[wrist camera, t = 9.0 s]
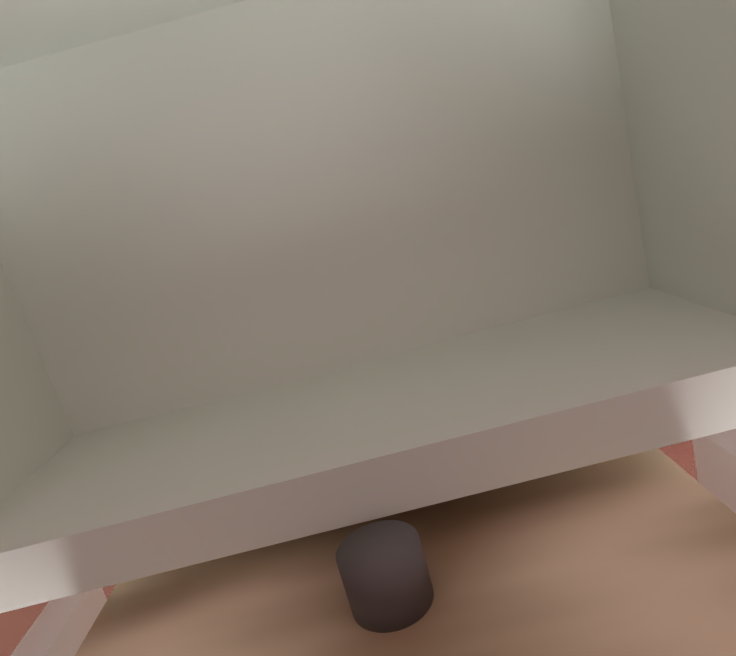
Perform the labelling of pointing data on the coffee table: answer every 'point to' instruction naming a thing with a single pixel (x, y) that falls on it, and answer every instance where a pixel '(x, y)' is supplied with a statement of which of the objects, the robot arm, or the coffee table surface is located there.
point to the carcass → (346, 263)
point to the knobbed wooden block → (465, 579)
